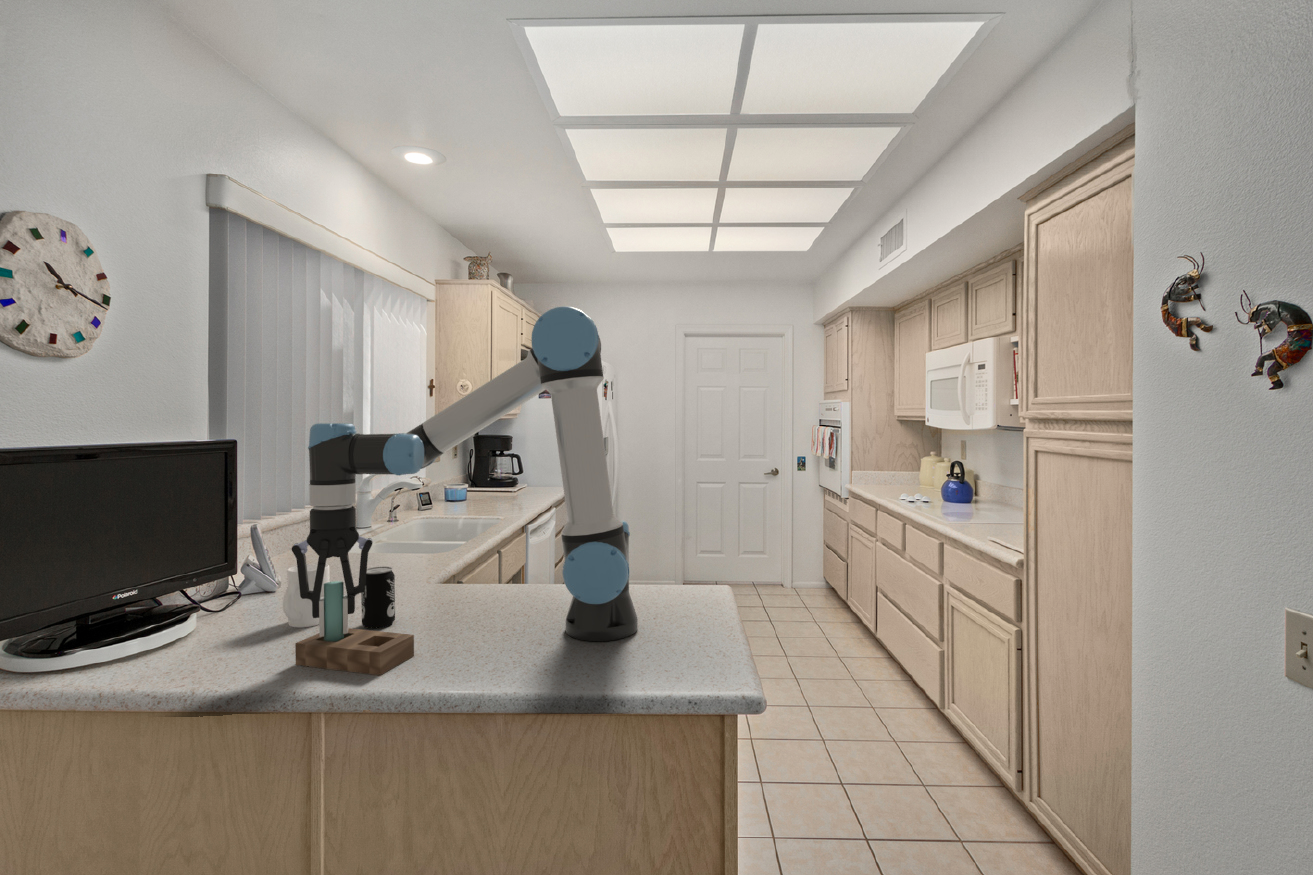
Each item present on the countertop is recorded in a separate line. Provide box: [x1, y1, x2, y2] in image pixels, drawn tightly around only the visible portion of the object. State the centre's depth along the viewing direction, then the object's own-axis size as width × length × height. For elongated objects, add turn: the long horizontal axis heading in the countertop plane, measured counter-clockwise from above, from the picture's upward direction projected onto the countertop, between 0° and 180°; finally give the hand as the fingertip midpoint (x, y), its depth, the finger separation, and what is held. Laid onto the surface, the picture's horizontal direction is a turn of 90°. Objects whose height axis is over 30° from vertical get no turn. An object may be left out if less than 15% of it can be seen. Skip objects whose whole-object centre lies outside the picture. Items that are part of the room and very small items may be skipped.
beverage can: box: [360, 566, 396, 630], centre depth 130 cm, size 7×7×12 cm
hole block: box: [294, 627, 415, 676], centre depth 110 cm, size 18×9×4 cm, turn 75°
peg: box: [324, 580, 345, 642], centre depth 112 cm, size 3×3×14 cm
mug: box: [282, 562, 331, 628], centre depth 131 cm, size 8×12×12 cm
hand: (334, 632), depth 112 cm, fingers closed on peg, 3 cm apart
